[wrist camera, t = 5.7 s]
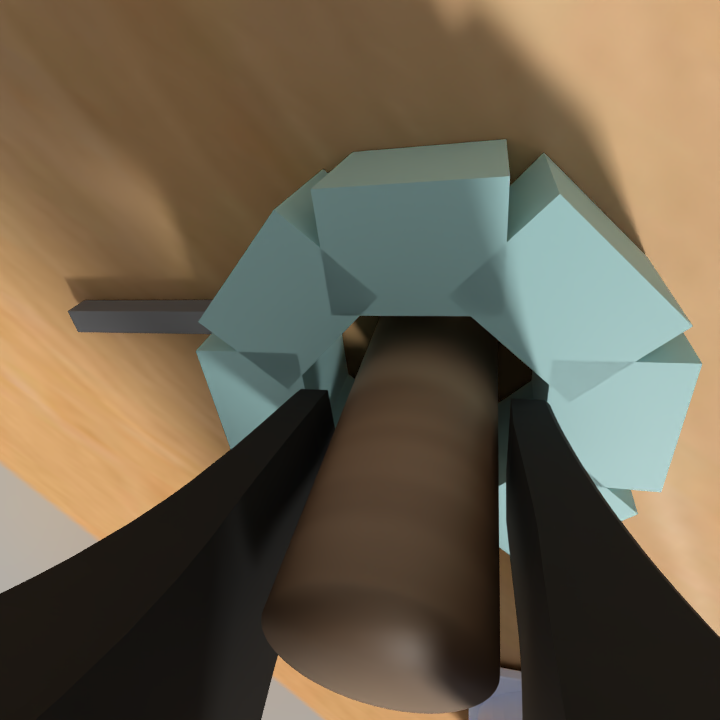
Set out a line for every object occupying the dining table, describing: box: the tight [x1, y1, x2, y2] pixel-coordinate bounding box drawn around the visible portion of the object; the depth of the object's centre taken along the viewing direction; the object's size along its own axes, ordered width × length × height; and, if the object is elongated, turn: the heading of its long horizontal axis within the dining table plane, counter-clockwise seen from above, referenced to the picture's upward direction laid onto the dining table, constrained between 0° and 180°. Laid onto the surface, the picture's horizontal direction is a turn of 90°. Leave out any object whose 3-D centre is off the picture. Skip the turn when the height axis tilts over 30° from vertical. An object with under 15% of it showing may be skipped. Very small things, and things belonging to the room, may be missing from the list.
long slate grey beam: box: [68, 300, 212, 334], centre depth 14 cm, size 1×6×1 cm, turn 97°
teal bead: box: [196, 139, 702, 555], centre depth 12 cm, size 10×10×3 cm
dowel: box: [261, 316, 500, 714], centre depth 10 cm, size 3×3×8 cm
